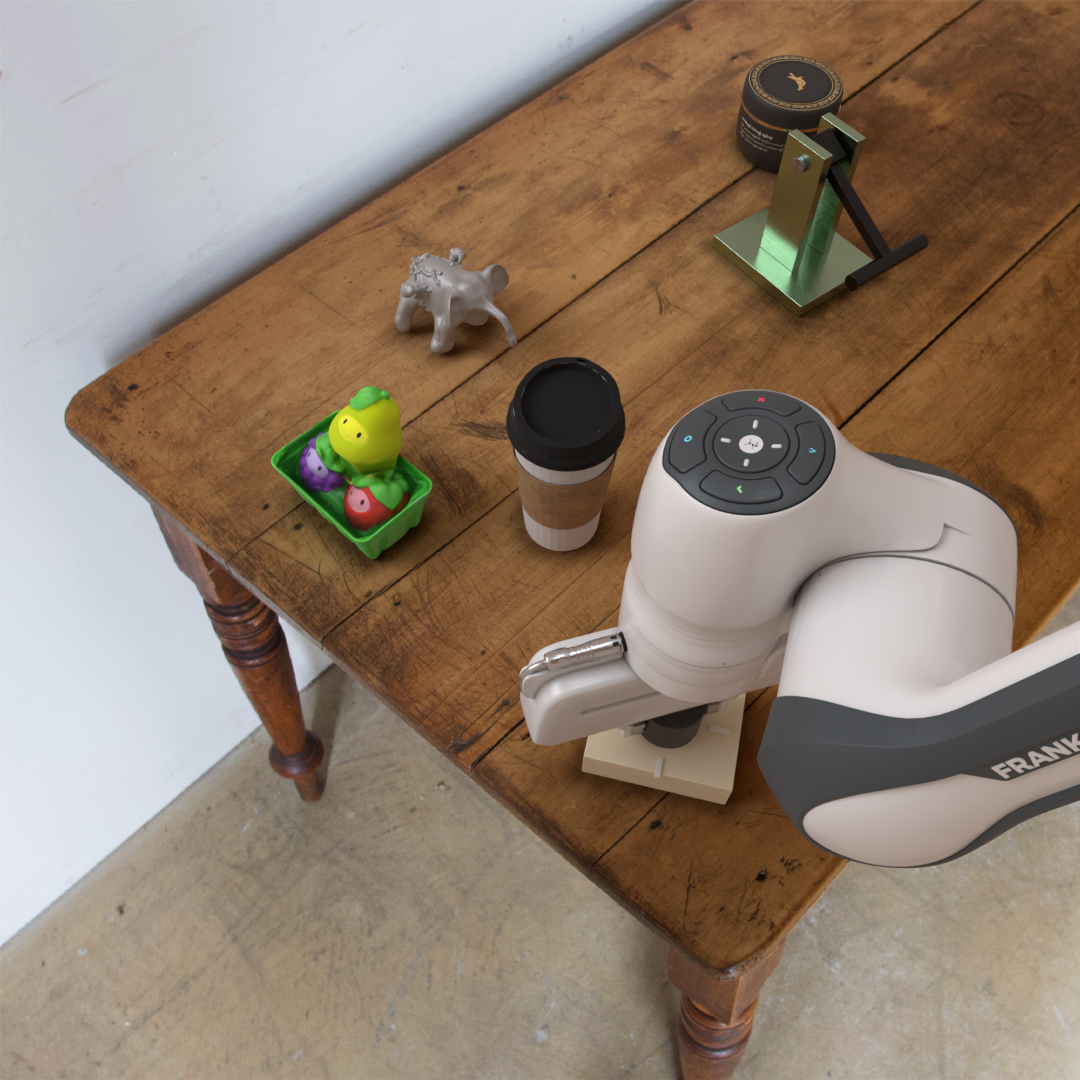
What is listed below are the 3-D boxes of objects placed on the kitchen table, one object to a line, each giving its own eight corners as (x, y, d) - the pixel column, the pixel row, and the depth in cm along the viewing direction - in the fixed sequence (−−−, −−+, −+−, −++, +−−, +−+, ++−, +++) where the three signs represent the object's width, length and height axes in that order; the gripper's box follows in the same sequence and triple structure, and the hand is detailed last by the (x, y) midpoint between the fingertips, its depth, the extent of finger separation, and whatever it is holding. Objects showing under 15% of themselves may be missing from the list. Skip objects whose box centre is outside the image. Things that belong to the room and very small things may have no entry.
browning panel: (740, 695, 72) (748, 677, 69) (724, 809, 68) (732, 794, 65) (605, 665, 73) (608, 646, 71) (580, 775, 69) (582, 759, 66)
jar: (777, 107, 110) (793, 41, 103) (846, 152, 105) (866, 86, 99) (712, 142, 106) (724, 76, 100) (780, 191, 102) (797, 124, 96)
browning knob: (687, 681, 69) (694, 658, 66) (709, 739, 67) (717, 718, 64) (626, 696, 69) (631, 673, 65) (647, 756, 66) (653, 734, 63)
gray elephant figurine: (428, 283, 94) (420, 217, 88) (545, 317, 92) (547, 252, 86) (384, 349, 90) (373, 286, 83) (507, 387, 87) (505, 325, 81)
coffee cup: (625, 493, 81) (642, 368, 69) (596, 577, 77) (609, 461, 64) (527, 467, 83) (527, 340, 70) (494, 549, 78) (487, 430, 66)
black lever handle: (917, 253, 89) (935, 242, 87) (847, 295, 86) (863, 284, 84) (842, 128, 89) (858, 113, 87) (769, 165, 86) (783, 151, 84)
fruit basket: (278, 496, 81) (245, 407, 71) (361, 435, 84) (340, 342, 75) (370, 581, 77) (348, 497, 67) (453, 513, 80) (443, 424, 71)
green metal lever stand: (872, 273, 96) (920, 149, 84) (797, 318, 92) (836, 195, 81) (785, 206, 101) (818, 80, 89) (711, 246, 97) (736, 121, 86)
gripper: (534, 717, 52) (534, 799, 64) (888, 623, 55) (826, 717, 67) (503, 615, 55) (508, 711, 67) (839, 531, 58) (788, 636, 70)
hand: (669, 713), depth 67 cm, fingers closed on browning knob, 4 cm apart
